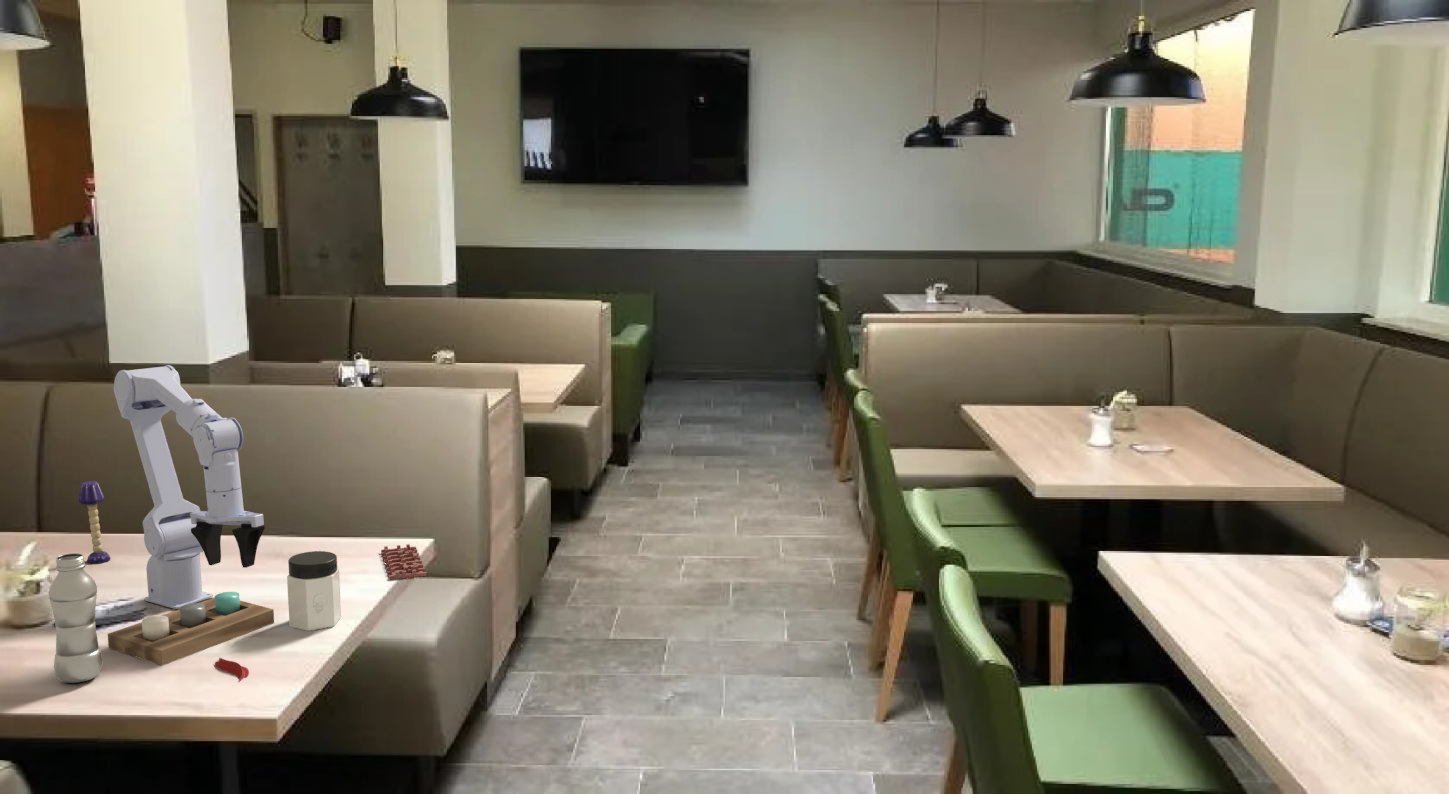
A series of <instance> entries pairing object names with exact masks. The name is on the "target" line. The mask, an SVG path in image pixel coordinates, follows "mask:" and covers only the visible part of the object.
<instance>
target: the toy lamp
mask: <svg viewBox="0 0 1449 794" xmlns="http://www.w3.org/2000/svg"><path fill="white" fill-rule="evenodd" d="M78 495H79V496H78V503H79V505H87V509H88V512H87V513H88V516H89V519H88V522H89V524H90V525H89V528H90V531H91V532H90V537H91V538H92V539H91V544H92V552H91V553H90V554H89V555H88V557H87V559H86V562H87V563H88V564H92V565H96V564H97V565H98V564H104V563H107V562H109V561H110V560H111V556H110V554H109V553H108V552H106V551H104V550H103V548H104V547H103V545H102V538H101V535H102V534H101V526H100V523H99V521H100V518H99V510H98V504H99V503H102V502H103V501H105V496H104V493H103V492H102V488H101V486H100V485H99V482H97V481H95V480H90V481H84V482H82V483H81V485H80V489H79V494H78Z"/></svg>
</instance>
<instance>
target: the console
mask: <svg viewBox="0 0 1449 794" xmlns="http://www.w3.org/2000/svg"><path fill="white" fill-rule="evenodd" d="M199 603H200V604H204V605H205V616H206V622H205V623H204V624H201V625H198V626H195V627H183V626H181V625H180V612H179V609H175V610H174V611H171V612H168V613H165V614H162V615H160V616H166V617H168V620H169V636H168V637H165V638H162V639H159V640H151V641H150V640H144V639H143V632H142V621H141V622H138V623H136V624H133V625H129V626H126V627H123V628H121V629H117V630H115V631H112V632H111V631H110V632H108V633H107V643H108V649H111V650H114V651H118V652H119V653H123V654H126V655H129V656H131V657H132V656H133V657H135V658H139V659H142V660H145V661H148V662H151V663H154V664H157V665H161V666H164V665H168V664H169V663H173V662H175V661H177V660H180V659H182V658H185V657H189V656H191V655H194V654H196V653H199V652H202V651H203V650H206V649H208V648H212V647H214V646H217V645H220V644H223V643H225V642H228V641H230V640H233V639H235V638H238V637H241V636H244V635H246V634H248V633H251V632H254V631H256V630H259V629H262V628H264V627H267V626H269V625H272V624H275V614H274V609H273V608H269V607H266V606H262V605H259V604H255V603H251V602H247V601H243V600H240V610H239V611H237V612H235V613H232V614H226V615H221V614H217V613H216V610H215V597H211V598H208V599H205V600H202V601H200V602H199Z"/></svg>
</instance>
